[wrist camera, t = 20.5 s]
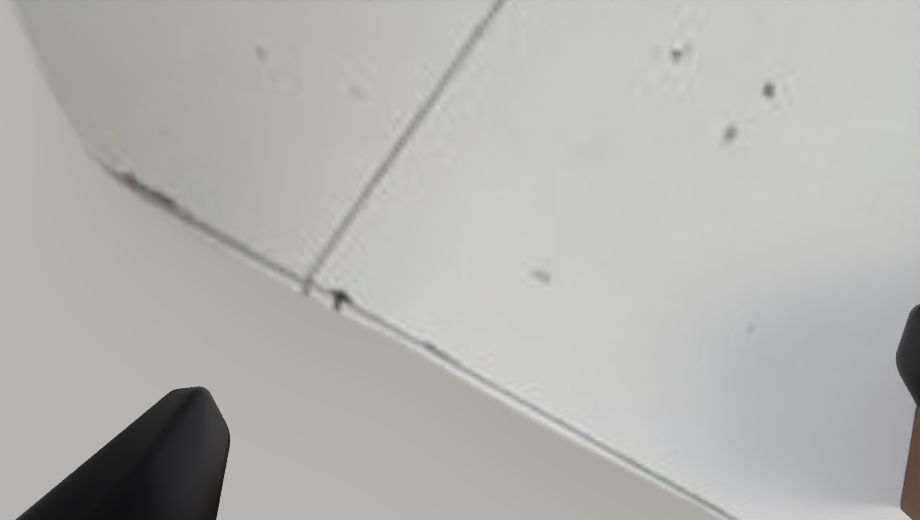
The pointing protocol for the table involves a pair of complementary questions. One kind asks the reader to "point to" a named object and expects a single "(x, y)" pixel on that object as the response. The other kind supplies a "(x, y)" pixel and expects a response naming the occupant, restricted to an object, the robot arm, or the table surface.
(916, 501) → the outer bin
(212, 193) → the table surface
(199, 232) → the table surface
